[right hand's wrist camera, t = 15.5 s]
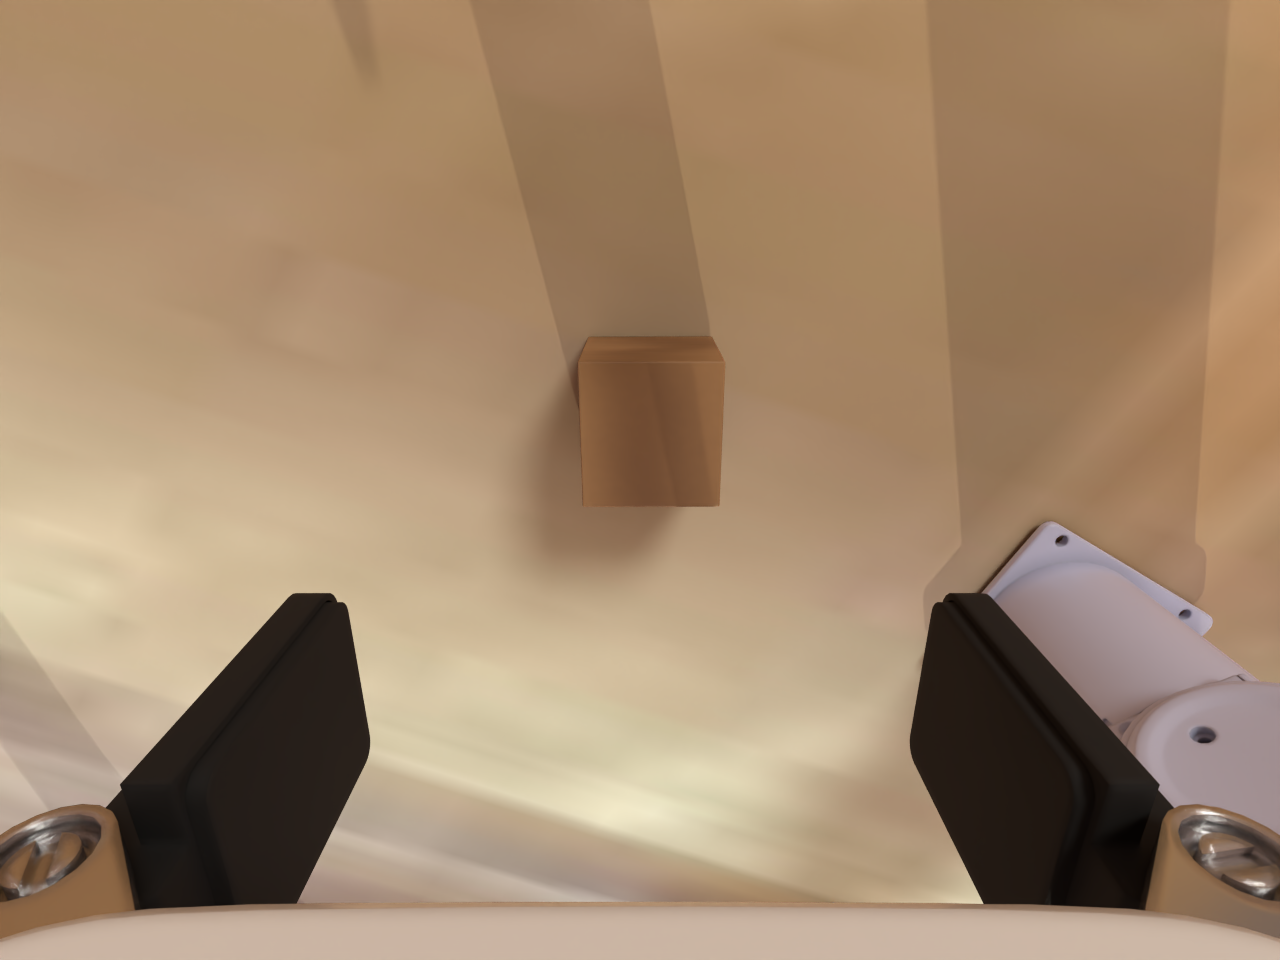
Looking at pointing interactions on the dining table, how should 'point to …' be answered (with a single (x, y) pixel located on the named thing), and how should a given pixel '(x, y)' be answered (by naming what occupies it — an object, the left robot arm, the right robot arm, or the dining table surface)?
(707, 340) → the brown wooden cube
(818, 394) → the dining table surface
